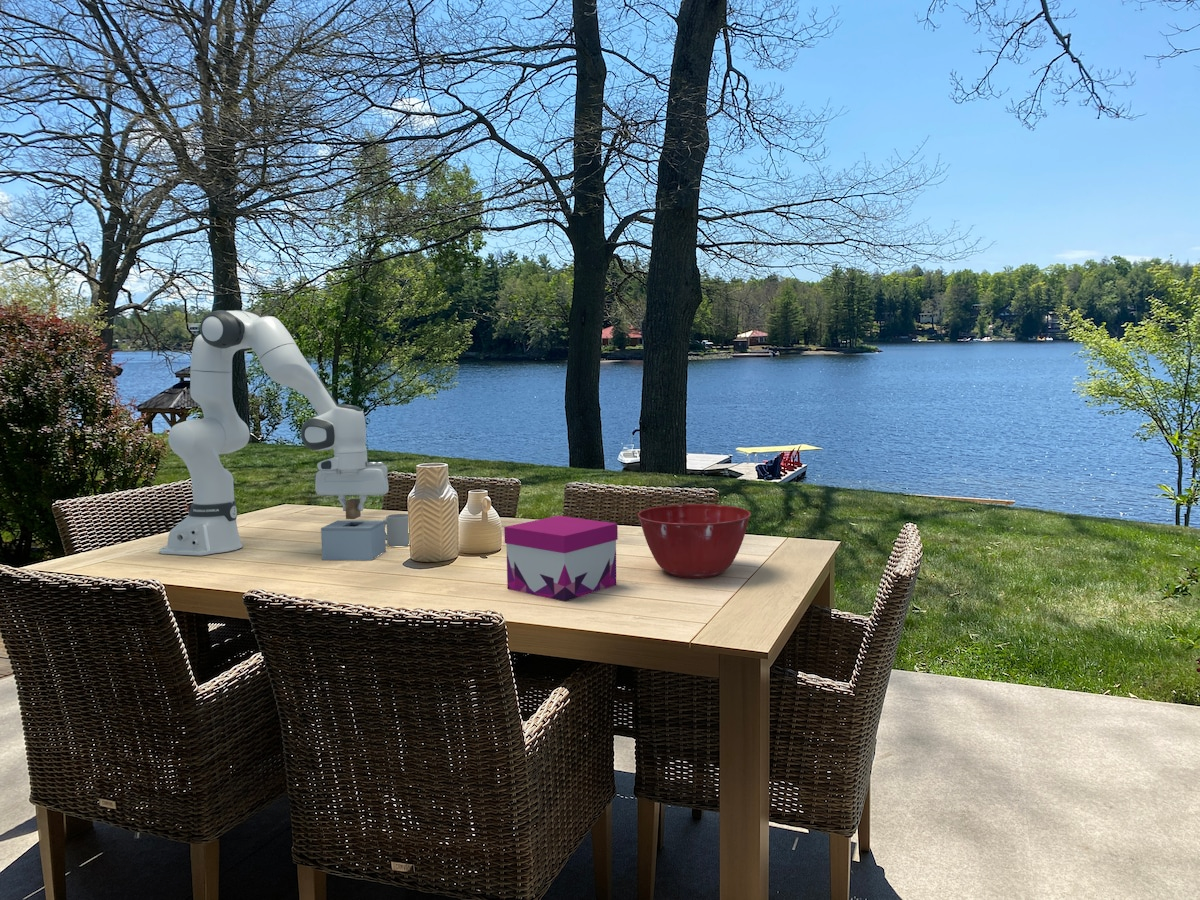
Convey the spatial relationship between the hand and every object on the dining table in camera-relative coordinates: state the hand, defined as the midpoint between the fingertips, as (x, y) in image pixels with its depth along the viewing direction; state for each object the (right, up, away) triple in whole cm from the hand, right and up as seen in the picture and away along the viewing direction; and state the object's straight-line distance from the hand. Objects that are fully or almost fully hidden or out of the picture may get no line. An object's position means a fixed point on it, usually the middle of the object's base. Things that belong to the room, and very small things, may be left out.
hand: (353, 510), depth 237 cm
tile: (0, -2, 0) cm, 2 cm away
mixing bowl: (+94, -14, -23) cm, 98 cm away
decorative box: (+61, -16, -37) cm, 73 cm away
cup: (+8, -12, +16) cm, 21 cm away
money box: (0, -13, +1) cm, 13 cm away
